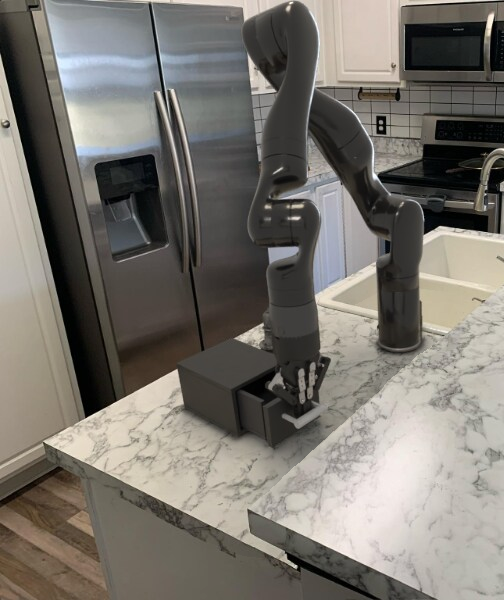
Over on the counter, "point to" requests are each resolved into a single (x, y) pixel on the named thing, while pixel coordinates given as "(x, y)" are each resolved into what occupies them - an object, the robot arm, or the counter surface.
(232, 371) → the small drawer cabinet
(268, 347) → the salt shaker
